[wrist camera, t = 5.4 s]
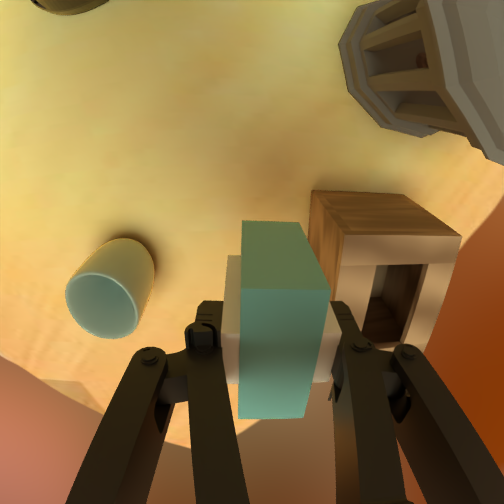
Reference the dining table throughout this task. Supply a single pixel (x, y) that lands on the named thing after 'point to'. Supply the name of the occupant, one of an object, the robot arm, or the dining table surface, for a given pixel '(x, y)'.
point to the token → (278, 320)
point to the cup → (112, 288)
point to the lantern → (430, 68)
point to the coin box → (384, 262)
